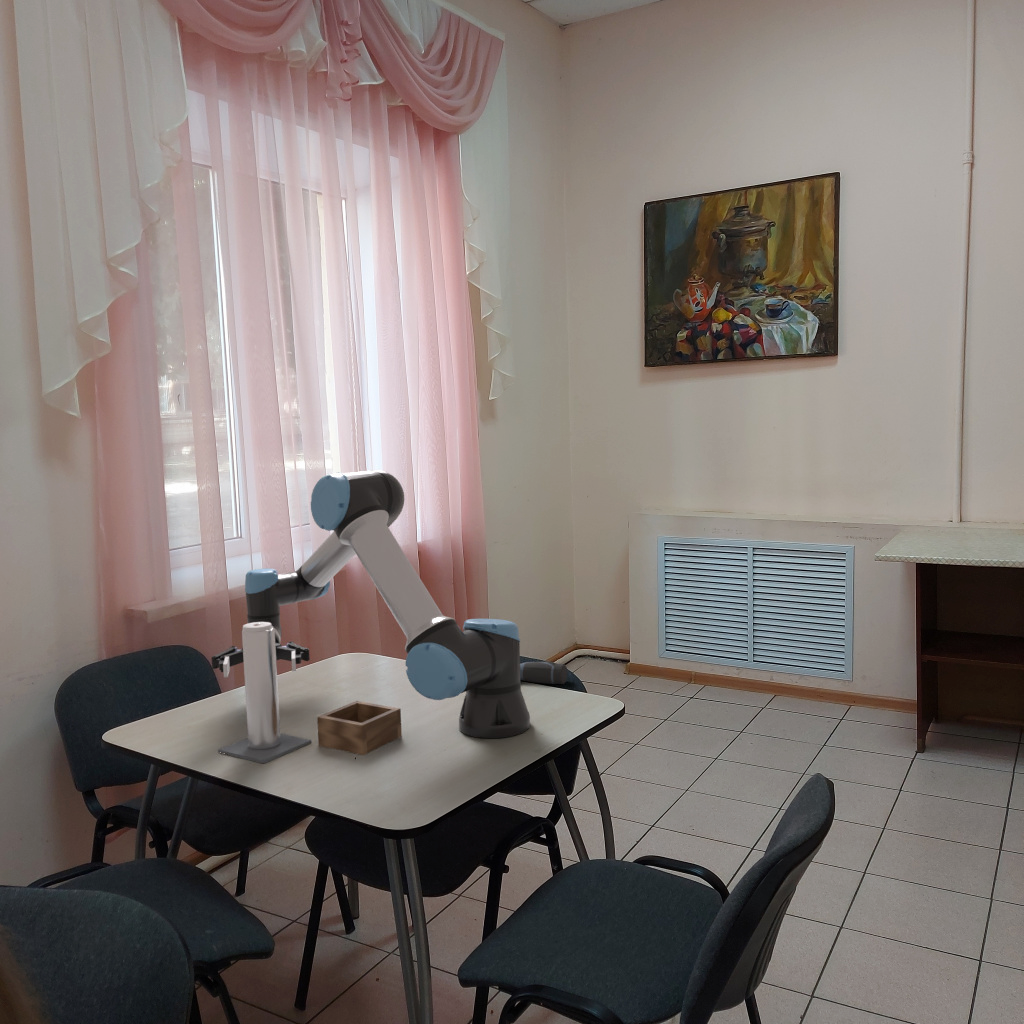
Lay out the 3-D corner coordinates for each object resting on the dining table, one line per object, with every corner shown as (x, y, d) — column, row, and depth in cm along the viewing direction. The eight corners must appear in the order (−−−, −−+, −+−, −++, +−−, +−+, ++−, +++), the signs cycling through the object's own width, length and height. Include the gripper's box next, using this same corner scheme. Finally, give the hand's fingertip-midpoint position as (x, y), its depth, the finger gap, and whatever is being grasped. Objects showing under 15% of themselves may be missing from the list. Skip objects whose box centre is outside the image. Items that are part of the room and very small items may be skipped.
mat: (311, 742, 189) (311, 739, 189) (263, 763, 178) (263, 760, 178) (266, 733, 196) (266, 730, 196) (218, 752, 185) (218, 749, 185)
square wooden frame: (401, 736, 191) (400, 708, 190) (363, 755, 181) (361, 725, 180) (358, 728, 197) (356, 700, 197) (318, 745, 187) (317, 716, 187)
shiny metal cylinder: (272, 750, 183) (265, 627, 181) (242, 749, 184) (235, 627, 182) (286, 739, 190) (280, 620, 187) (257, 738, 191) (250, 620, 188)
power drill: (546, 700, 214) (469, 693, 222) (572, 678, 232) (499, 673, 239) (546, 677, 214) (468, 671, 221) (571, 657, 231) (498, 653, 239)
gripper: (319, 655, 213) (322, 679, 192) (207, 665, 207) (197, 691, 186) (318, 623, 212) (320, 644, 191) (204, 632, 206) (195, 655, 186)
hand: (259, 667), depth 189 cm, fingers open, 13 cm apart
